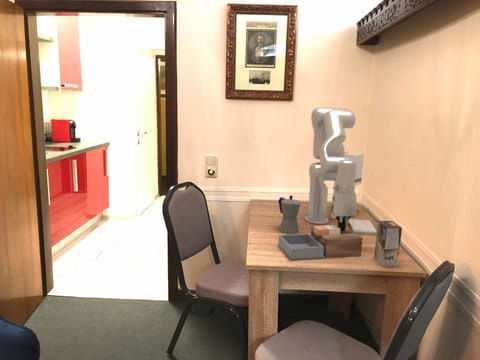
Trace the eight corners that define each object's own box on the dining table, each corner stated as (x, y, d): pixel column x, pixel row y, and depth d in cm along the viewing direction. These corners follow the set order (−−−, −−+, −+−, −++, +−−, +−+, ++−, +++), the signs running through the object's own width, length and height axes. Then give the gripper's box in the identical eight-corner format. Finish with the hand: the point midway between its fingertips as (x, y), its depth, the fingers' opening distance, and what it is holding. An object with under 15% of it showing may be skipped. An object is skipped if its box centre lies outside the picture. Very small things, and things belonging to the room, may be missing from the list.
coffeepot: (305, 233, 187) (307, 197, 183) (290, 236, 182) (292, 199, 178) (284, 224, 199) (286, 190, 196) (270, 227, 194) (272, 192, 190)
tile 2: (324, 230, 167) (324, 225, 167) (334, 230, 168) (335, 224, 168) (329, 234, 162) (329, 229, 162) (340, 234, 163) (340, 228, 163)
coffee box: (398, 266, 152) (403, 227, 149) (382, 266, 152) (387, 227, 148) (388, 257, 161) (392, 220, 158) (373, 257, 161) (377, 220, 157)
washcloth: (369, 224, 205) (369, 218, 205) (377, 235, 188) (378, 229, 187) (346, 223, 207) (347, 217, 206) (352, 234, 189) (353, 228, 188)
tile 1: (313, 231, 166) (313, 225, 166) (324, 230, 167) (324, 225, 167) (317, 235, 161) (318, 229, 161) (329, 234, 162) (329, 229, 162)
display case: (348, 217, 214) (354, 155, 207) (331, 213, 221) (336, 153, 214) (358, 213, 222) (364, 153, 215) (341, 209, 229) (346, 151, 222)
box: (278, 245, 170) (278, 235, 169) (308, 244, 173) (308, 233, 172) (290, 260, 155) (291, 248, 154) (323, 258, 158) (324, 247, 157)
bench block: (310, 244, 173) (311, 227, 172) (342, 242, 177) (344, 225, 175) (325, 258, 158) (326, 239, 156) (360, 256, 161) (362, 237, 160)
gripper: (332, 191, 157) (329, 234, 161) (365, 190, 160) (361, 232, 164) (324, 187, 164) (321, 228, 168) (356, 186, 167) (352, 226, 171)
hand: (341, 230), depth 166 cm, fingers closed
